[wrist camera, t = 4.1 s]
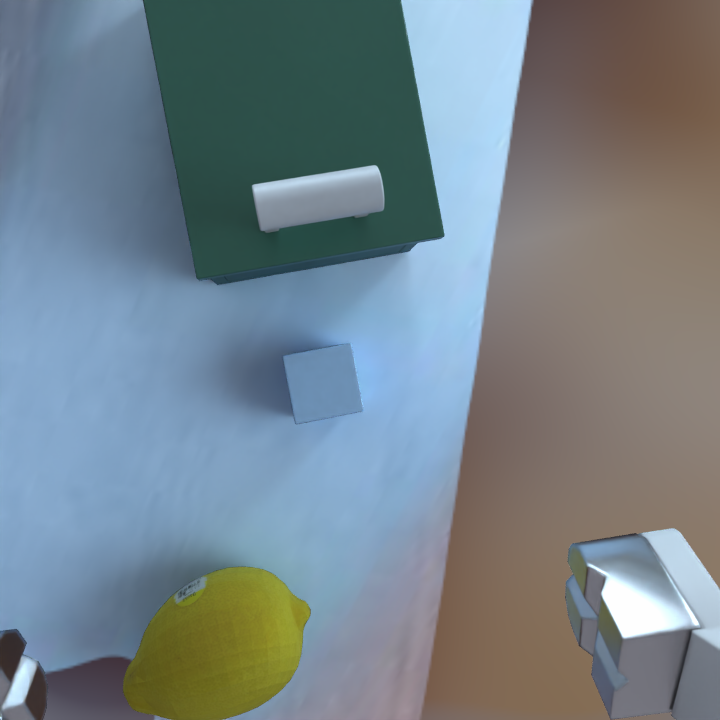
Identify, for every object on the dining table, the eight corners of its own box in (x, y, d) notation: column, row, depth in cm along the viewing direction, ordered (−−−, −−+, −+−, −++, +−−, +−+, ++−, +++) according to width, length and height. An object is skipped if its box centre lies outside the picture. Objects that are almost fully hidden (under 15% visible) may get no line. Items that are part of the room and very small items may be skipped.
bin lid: (441, 238, 34) (471, 214, 28) (198, 281, 33) (178, 264, 27) (372, -135, 33) (388, -235, 28) (124, -106, 32) (87, -205, 27)
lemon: (297, 534, 42) (297, 575, 34) (324, 651, 42) (331, 719, 34) (128, 577, 41) (87, 629, 33) (156, 696, 41) (123, 778, 33)
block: (356, 404, 42) (364, 411, 37) (295, 417, 42) (295, 424, 37) (344, 344, 42) (351, 342, 37) (283, 355, 42) (282, 355, 37)
